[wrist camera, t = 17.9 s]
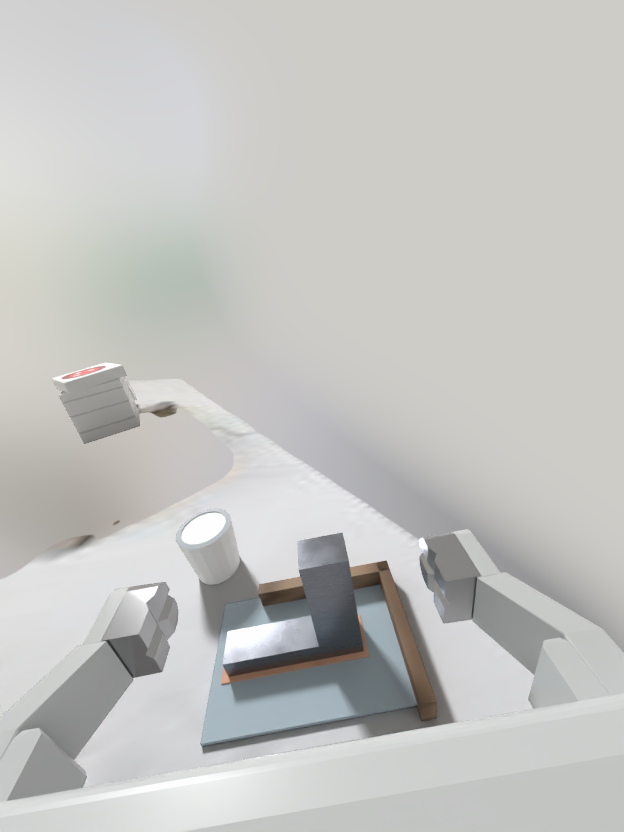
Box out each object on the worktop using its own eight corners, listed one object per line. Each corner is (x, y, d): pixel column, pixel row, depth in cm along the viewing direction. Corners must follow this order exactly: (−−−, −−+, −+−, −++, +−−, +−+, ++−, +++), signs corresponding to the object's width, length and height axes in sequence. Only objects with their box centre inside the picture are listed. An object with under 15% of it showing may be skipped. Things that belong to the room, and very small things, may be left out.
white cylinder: (189, 562, 45) (171, 524, 42) (236, 538, 47) (222, 500, 44) (199, 599, 39) (179, 558, 36) (251, 570, 42) (237, 529, 39)
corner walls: (254, 752, 25) (246, 737, 24) (264, 599, 38) (259, 584, 36) (436, 718, 25) (436, 701, 24) (388, 575, 38) (386, 560, 36)
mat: (201, 746, 26) (199, 743, 26) (226, 606, 38) (225, 603, 37) (431, 703, 26) (431, 699, 26) (388, 575, 38) (387, 572, 37)
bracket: (357, 619, 33) (342, 532, 28) (364, 651, 30) (348, 560, 25) (233, 643, 33) (196, 560, 28) (228, 676, 30) (186, 591, 25)
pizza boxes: (143, 400, 121) (124, 353, 113) (146, 426, 96) (121, 368, 88) (86, 417, 114) (61, 368, 106) (73, 449, 89) (39, 389, 81)
